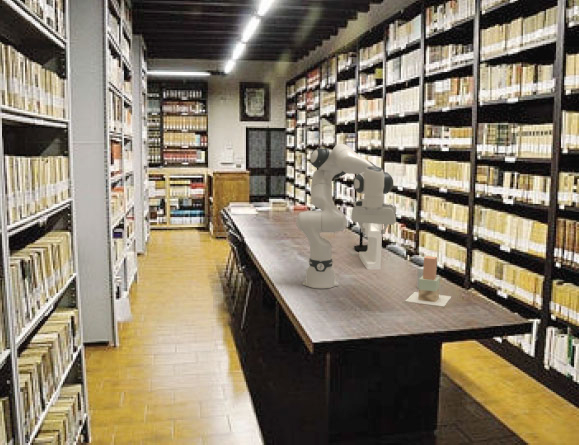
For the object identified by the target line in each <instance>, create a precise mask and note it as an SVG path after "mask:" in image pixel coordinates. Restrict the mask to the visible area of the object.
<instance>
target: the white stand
mask: <svg viewBox="0 0 579 445" xmlns="http://www.w3.org/2000/svg"><path fill="white" fill-rule="evenodd" d="M362 226H363V228H365V232H363V234H364V235H366V237H367V245H368V249H367V251H366V252H359V251H358V252H359V254H358V255H359V256H358V257H359V259H360V260H361V263H363V266H365V268H366V270H382V248H383V247H382V244H383V243H382V241H383V240H382V237H383V234H381V230H383V224H375V223H363V224H362Z"/></svg>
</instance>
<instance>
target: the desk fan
mask: <svg viewBox="0 0 579 445" xmlns="http://www.w3.org/2000/svg"><path fill="white" fill-rule="evenodd" d="M357 224H358V225H359V222H357ZM363 234H364V232H361V228H360V227H359V244H356V245H354V246H353V248H354V250H355V251H356V252H366V251H367V249H368V244H363V242H364V240H363V238H364V237H363Z"/></svg>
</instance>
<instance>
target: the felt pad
mask: <svg viewBox="0 0 579 445" xmlns="http://www.w3.org/2000/svg"><path fill="white" fill-rule="evenodd" d="M418 296H419V291H414V292H413V293H412V294H411V295H410V296H409V297H408V298H407V299H405V301H404V302H406V303H411V304H420V305H427V306H431V307H433V306H434V307H440V308H441V307H442V308H445V307H446V305H447V304H448V303H449V302H450V300H451V298H452V296H450V295H445V294H444V295H443V294H439V298H438V299H437V301H436V302H432V301H424V300H418Z"/></svg>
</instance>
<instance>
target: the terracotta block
mask: <svg viewBox="0 0 579 445" xmlns="http://www.w3.org/2000/svg"><path fill="white" fill-rule="evenodd" d="M437 260H438V257H437V256H429V255H426V256H424V257H423V267H424V268H423V279H429V280H434V279H435V278H436V277H437V267H438V266H437V265H438V264H437V262H438V261H437Z"/></svg>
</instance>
